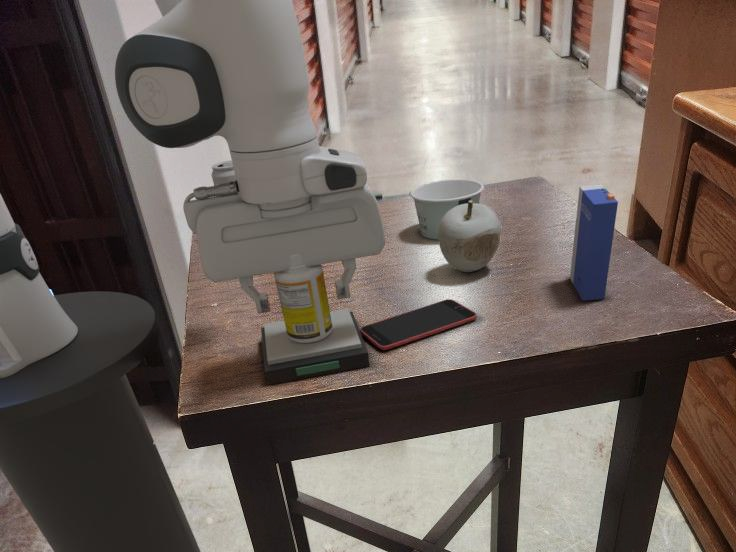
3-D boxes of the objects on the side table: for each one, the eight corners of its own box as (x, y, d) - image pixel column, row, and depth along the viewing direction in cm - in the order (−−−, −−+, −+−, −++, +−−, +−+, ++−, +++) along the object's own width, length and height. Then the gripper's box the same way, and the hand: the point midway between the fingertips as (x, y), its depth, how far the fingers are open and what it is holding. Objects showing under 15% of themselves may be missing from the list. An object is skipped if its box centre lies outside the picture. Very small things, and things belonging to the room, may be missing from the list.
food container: (401, 229, 107) (398, 189, 103) (461, 214, 110) (461, 174, 106) (432, 248, 99) (430, 204, 94) (497, 231, 101) (498, 188, 97)
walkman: (604, 299, 78) (618, 198, 70) (582, 301, 78) (594, 200, 70) (590, 276, 84) (602, 180, 76) (569, 277, 84) (579, 182, 76)
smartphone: (480, 314, 77) (382, 348, 73) (480, 319, 77) (382, 352, 73) (450, 297, 82) (356, 327, 78) (450, 301, 82) (357, 332, 78)
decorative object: (471, 255, 94) (471, 185, 88) (512, 268, 89) (515, 194, 82) (427, 272, 91) (423, 200, 85) (466, 287, 85) (465, 212, 79)
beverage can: (232, 229, 119) (215, 160, 111) (264, 226, 118) (249, 157, 110) (223, 240, 114) (204, 169, 106) (256, 237, 113) (239, 166, 105)
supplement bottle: (318, 320, 77) (303, 236, 70) (341, 333, 73) (328, 246, 66) (279, 335, 75) (260, 250, 68) (301, 349, 71) (283, 261, 64)
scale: (268, 385, 70) (263, 367, 69) (264, 340, 80) (259, 323, 78) (369, 366, 71) (367, 348, 70) (354, 324, 80) (351, 306, 79)
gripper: (175, 198, 59) (215, 331, 68) (381, 165, 61) (393, 299, 70) (179, 183, 64) (216, 309, 73) (370, 152, 65) (383, 279, 74)
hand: (304, 304), depth 71 cm, fingers open, 8 cm apart
